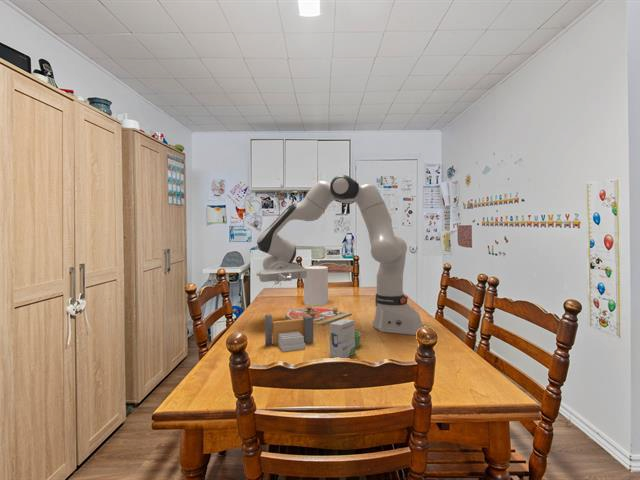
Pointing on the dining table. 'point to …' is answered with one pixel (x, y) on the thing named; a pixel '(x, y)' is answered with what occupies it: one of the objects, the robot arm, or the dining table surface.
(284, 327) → the tan wooden panel
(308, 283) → the canister
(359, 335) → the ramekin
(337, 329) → the ink box
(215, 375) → the dining table surface
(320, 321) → the knob puzzle
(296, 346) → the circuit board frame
